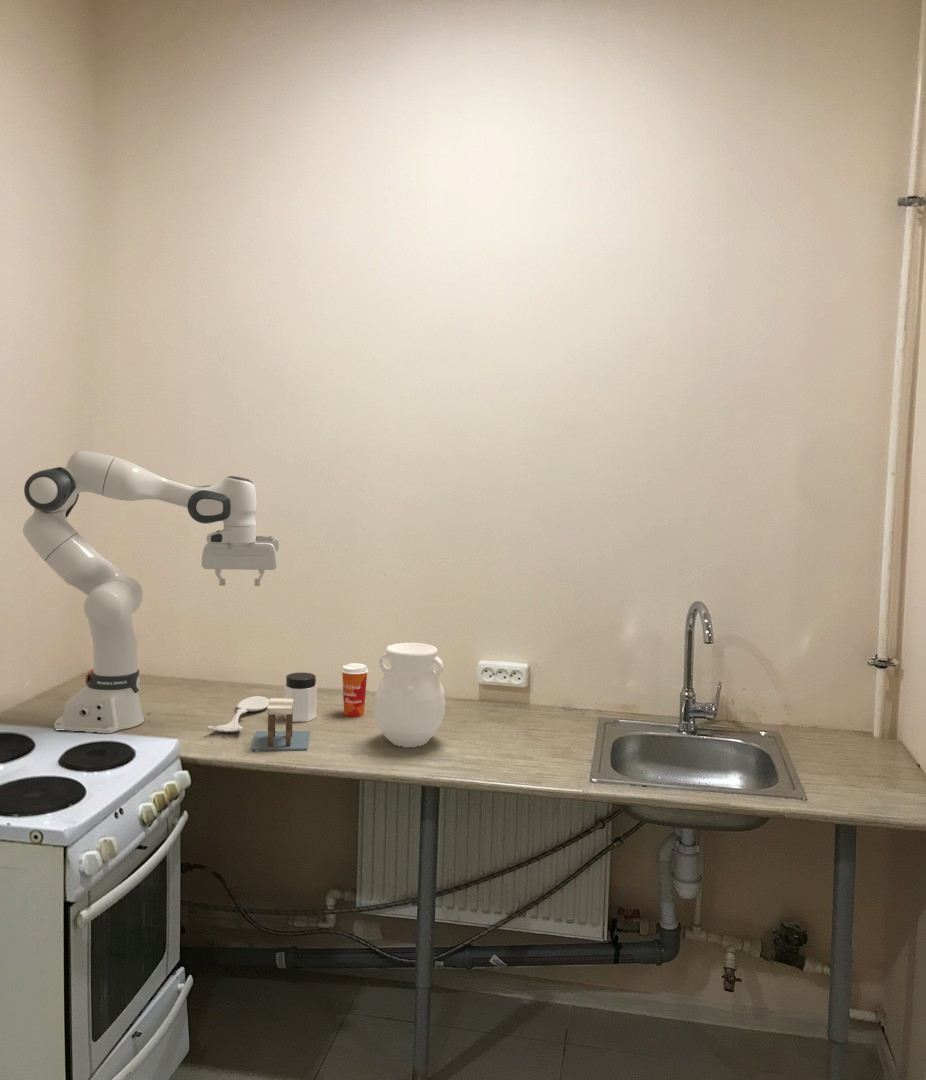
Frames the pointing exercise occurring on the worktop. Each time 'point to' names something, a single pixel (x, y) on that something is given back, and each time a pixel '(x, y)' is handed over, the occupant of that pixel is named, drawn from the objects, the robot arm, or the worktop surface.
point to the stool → (280, 708)
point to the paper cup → (354, 689)
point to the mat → (281, 741)
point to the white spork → (244, 706)
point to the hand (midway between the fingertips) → (239, 585)
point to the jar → (302, 696)
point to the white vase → (410, 694)
